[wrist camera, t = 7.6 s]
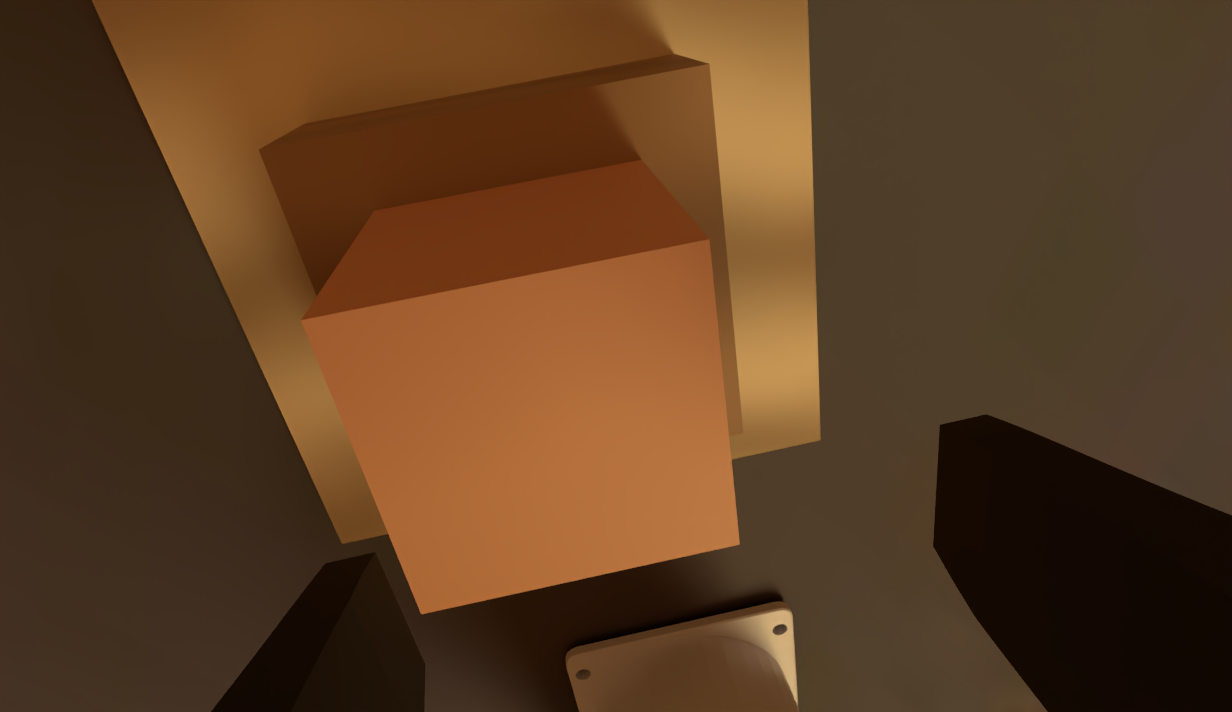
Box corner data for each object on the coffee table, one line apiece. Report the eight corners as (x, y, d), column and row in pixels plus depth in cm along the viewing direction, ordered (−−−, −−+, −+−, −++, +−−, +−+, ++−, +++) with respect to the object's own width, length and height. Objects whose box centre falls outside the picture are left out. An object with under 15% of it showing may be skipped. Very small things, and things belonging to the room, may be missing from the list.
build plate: (807, 421, 21) (820, 440, 20) (349, 520, 20) (341, 543, 20) (785, -129, 15) (803, -137, 14) (113, -9, 14) (87, -10, 13)
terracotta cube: (672, 388, 15) (739, 544, 11) (447, 435, 15) (421, 613, 11) (641, 159, 13) (709, 239, 8) (374, 211, 13) (300, 320, 8)
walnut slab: (710, 372, 19) (743, 433, 16) (416, 434, 18) (399, 507, 16) (674, 53, 15) (709, 63, 12) (304, 123, 15) (258, 149, 12)
